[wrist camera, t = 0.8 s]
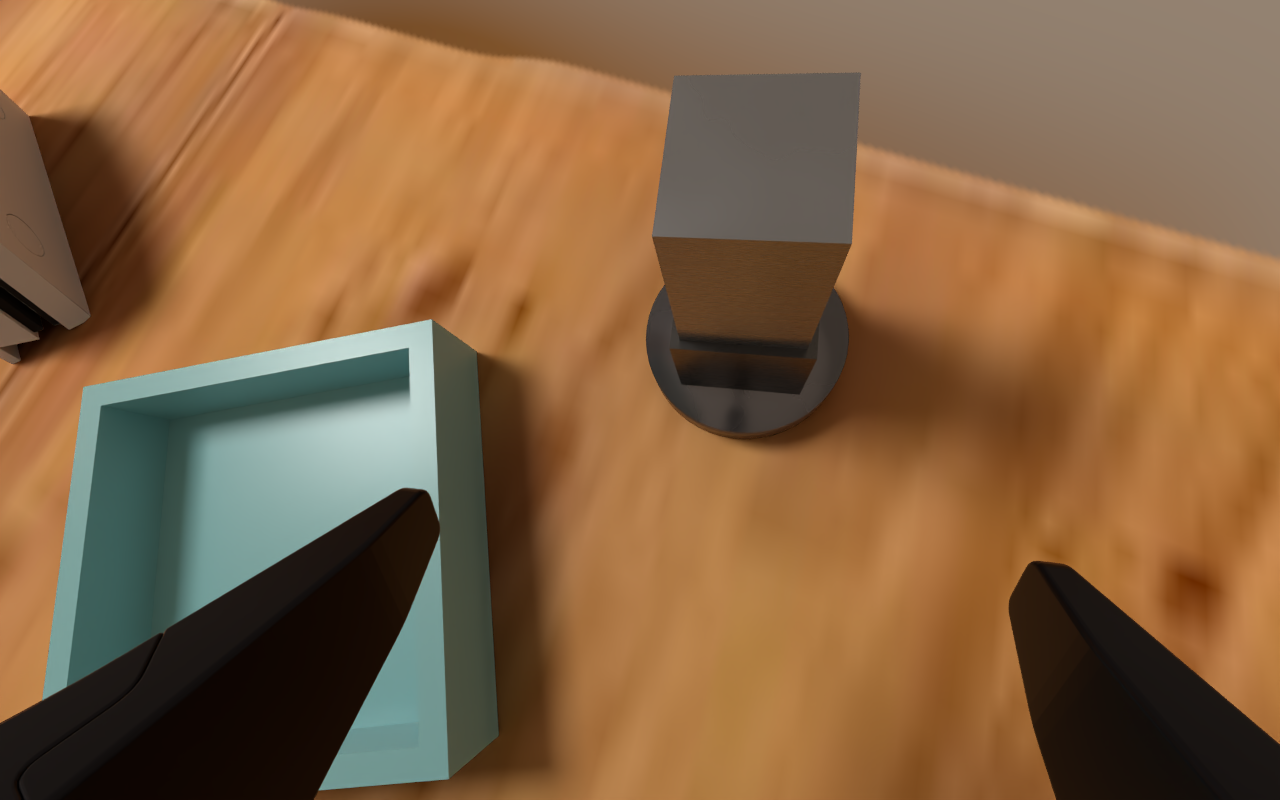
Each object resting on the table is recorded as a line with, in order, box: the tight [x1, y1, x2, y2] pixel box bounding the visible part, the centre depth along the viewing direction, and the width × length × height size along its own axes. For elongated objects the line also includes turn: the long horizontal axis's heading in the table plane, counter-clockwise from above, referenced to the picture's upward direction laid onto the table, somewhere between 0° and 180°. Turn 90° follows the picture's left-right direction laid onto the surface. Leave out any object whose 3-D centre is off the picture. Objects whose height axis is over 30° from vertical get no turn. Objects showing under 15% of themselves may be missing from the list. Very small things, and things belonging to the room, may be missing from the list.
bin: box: [42, 319, 499, 790], centre depth 23 cm, size 16×16×4 cm
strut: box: [652, 73, 861, 395], centre depth 17 cm, size 5×5×11 cm
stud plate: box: [646, 285, 849, 439], centre depth 21 cm, size 8×8×5 cm
